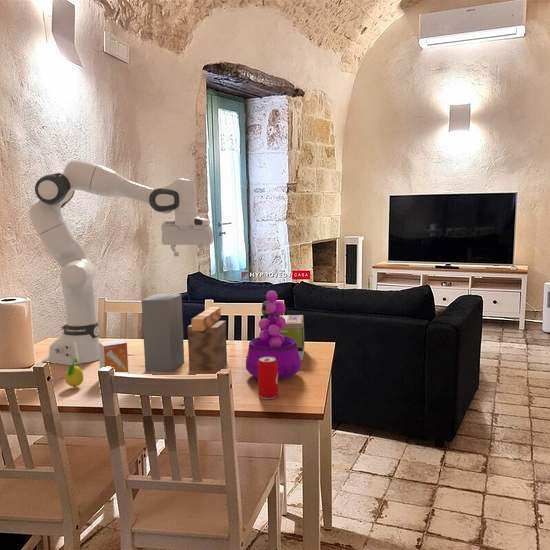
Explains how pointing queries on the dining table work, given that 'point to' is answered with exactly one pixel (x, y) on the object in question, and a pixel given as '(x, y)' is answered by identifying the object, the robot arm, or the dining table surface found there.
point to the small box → (114, 355)
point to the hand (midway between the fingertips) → (187, 256)
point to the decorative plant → (273, 342)
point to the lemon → (74, 375)
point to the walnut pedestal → (207, 347)
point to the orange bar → (206, 318)
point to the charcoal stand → (163, 332)
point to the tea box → (294, 331)
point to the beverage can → (268, 377)
